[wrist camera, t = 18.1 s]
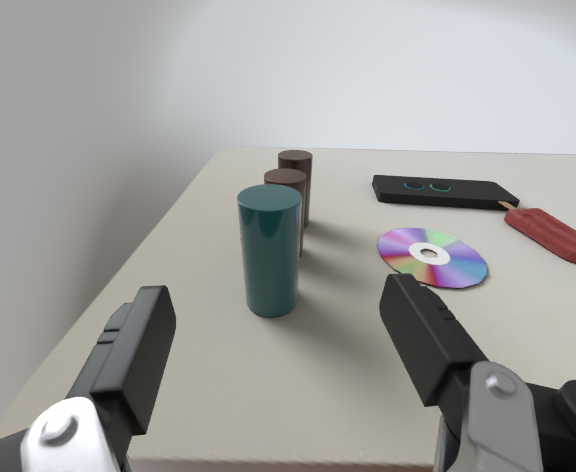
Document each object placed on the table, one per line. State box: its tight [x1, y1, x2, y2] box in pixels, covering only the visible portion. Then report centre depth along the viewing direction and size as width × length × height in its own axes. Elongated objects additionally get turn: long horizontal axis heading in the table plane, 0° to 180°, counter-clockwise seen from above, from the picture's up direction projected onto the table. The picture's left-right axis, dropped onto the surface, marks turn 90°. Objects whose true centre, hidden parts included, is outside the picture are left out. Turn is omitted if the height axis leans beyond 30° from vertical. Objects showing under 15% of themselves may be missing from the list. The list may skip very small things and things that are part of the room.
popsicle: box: [498, 201, 576, 263], centre depth 35 cm, size 4×2×15 cm
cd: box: [377, 228, 487, 288], centre depth 31 cm, size 11×11×1 cm
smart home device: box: [372, 175, 520, 211], centre depth 45 cm, size 8×2×20 cm
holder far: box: [278, 150, 313, 228], centre depth 34 cm, size 4×4×9 cm
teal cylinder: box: [237, 184, 302, 317], centre depth 22 cm, size 5×5×10 cm
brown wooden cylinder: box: [264, 169, 306, 258], centre depth 29 cm, size 4×4×9 cm
